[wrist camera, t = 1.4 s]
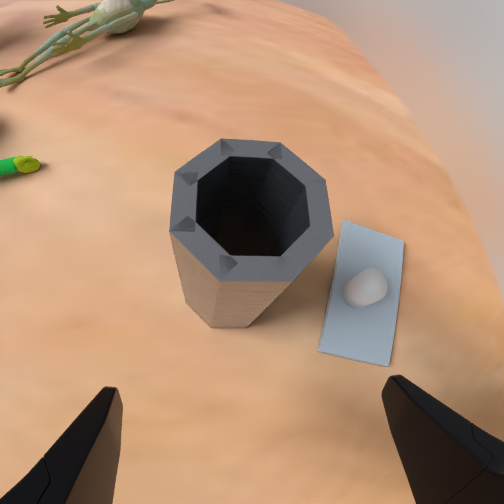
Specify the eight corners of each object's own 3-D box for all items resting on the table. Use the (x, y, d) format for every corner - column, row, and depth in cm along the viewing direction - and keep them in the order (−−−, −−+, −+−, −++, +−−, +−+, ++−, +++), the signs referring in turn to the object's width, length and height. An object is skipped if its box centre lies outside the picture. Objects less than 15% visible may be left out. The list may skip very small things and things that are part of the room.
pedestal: (384, 366, 23) (408, 364, 20) (317, 351, 23) (335, 348, 20) (400, 244, 27) (421, 228, 24) (342, 222, 27) (358, 203, 24)
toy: (-13, 49, 25) (178, -42, 31) (5, 78, 31) (181, -8, 37) (-17, 86, 22) (215, -23, 28) (8, 120, 28) (216, 17, 35)
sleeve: (270, 327, 23) (339, 281, 11) (185, 327, 22) (166, 279, 10) (266, 248, 25) (319, 146, 13) (187, 247, 24) (178, 137, 13)
